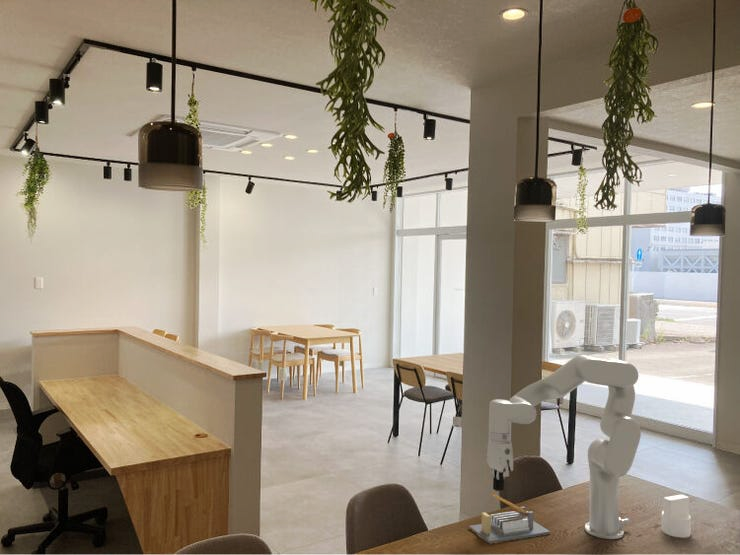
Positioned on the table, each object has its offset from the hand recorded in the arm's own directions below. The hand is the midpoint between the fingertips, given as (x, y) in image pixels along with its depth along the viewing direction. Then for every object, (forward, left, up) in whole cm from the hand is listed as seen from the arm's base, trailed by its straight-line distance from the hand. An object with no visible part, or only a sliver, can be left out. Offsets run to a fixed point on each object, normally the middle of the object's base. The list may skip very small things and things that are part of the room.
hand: (498, 489), depth 204 cm
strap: (-5, 0, -6) cm, 8 cm away
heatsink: (-4, 0, -15) cm, 16 cm away
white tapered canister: (-59, +19, -15) cm, 64 cm away
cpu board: (-4, 0, -15) cm, 16 cm away
